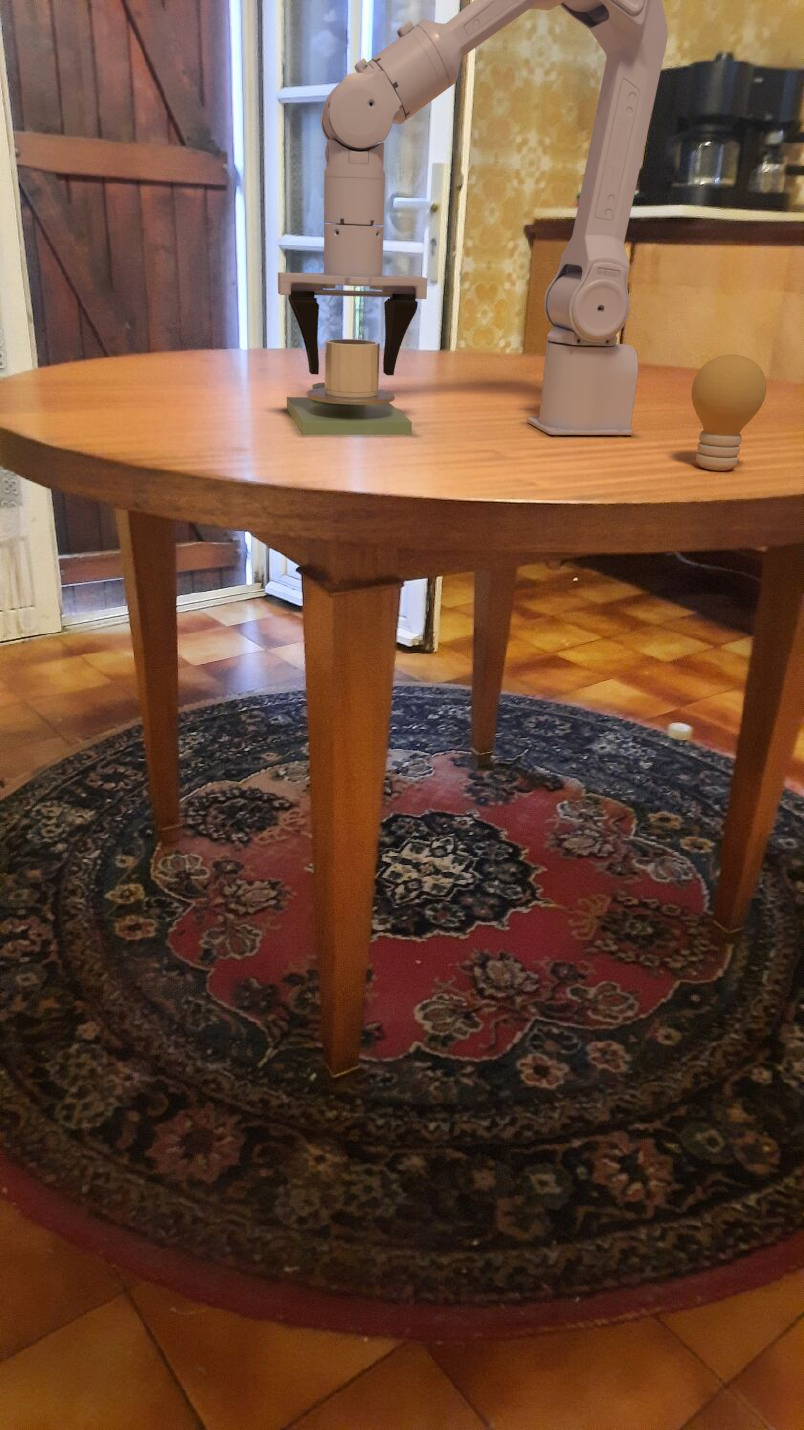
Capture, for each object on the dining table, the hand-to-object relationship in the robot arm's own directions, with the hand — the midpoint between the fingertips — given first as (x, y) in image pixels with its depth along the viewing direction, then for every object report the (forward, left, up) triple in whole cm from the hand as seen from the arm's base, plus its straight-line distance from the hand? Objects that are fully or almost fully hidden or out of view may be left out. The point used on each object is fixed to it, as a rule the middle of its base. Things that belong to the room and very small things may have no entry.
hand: (351, 373), depth 103 cm
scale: (0, -3, -5) cm, 6 cm away
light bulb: (-31, +20, -6) cm, 37 cm away
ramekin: (0, 0, -2) cm, 2 cm away
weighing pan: (0, 0, -2) cm, 2 cm away
